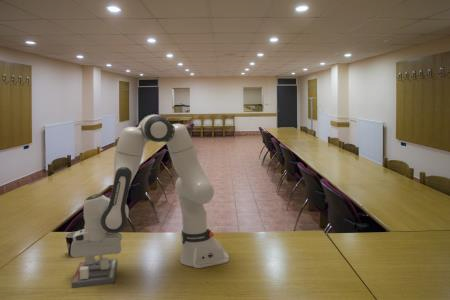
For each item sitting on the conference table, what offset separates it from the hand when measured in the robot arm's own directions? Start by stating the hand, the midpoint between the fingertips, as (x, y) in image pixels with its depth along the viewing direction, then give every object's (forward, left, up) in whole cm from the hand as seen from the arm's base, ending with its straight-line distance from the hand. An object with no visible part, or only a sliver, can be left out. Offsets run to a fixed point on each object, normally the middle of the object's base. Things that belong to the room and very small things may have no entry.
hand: (97, 264), depth 154 cm
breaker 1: (+4, +7, -2) cm, 8 cm away
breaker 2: (+4, -7, -2) cm, 8 cm away
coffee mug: (+13, -24, -4) cm, 27 cm away
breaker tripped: (-3, 0, -2) cm, 4 cm away
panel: (+1, 0, -4) cm, 4 cm away
